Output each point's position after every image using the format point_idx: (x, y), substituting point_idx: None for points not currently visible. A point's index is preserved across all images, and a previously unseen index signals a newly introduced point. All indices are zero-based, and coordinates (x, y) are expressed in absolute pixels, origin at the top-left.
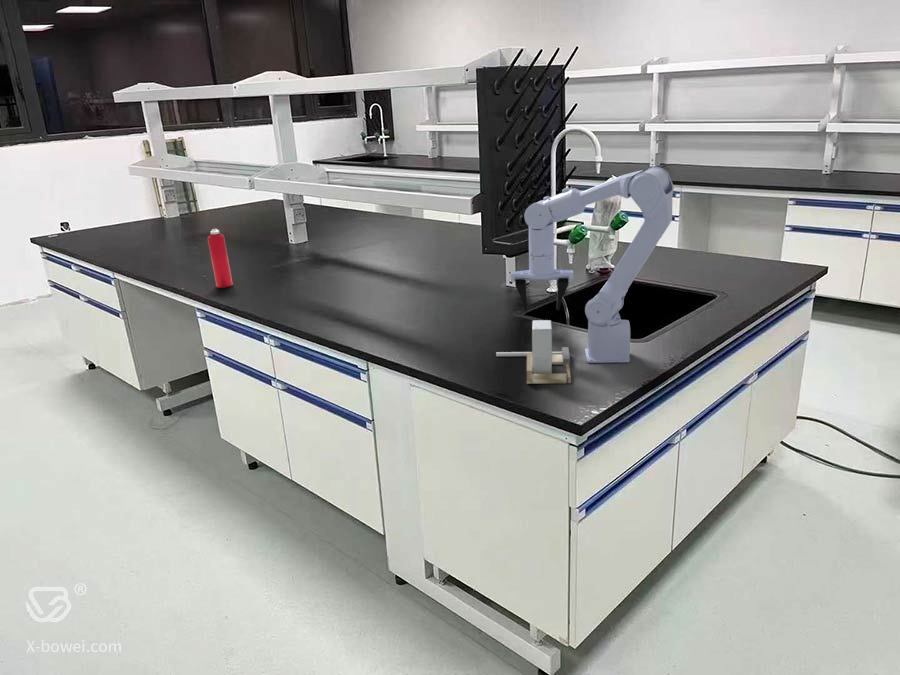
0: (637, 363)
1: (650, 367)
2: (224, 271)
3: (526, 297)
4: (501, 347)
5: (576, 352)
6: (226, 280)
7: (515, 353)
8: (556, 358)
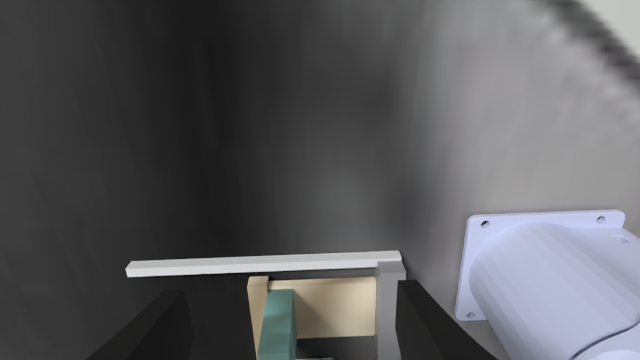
0: None
1: None
2: None
3: (143, 338)
4: (128, 185)
5: (431, 230)
6: None
7: (202, 273)
8: (354, 312)
